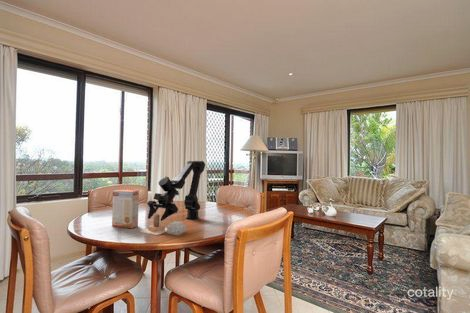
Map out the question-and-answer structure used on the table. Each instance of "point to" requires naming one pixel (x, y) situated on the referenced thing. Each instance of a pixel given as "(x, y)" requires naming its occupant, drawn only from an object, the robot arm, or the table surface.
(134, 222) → the cracker box
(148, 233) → the cream mat
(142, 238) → the table surface
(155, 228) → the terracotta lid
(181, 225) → the grey rock
